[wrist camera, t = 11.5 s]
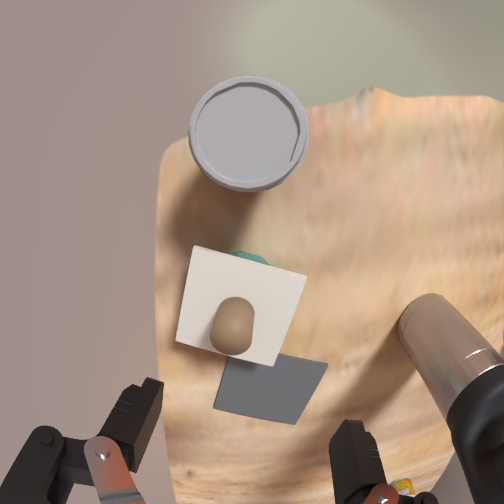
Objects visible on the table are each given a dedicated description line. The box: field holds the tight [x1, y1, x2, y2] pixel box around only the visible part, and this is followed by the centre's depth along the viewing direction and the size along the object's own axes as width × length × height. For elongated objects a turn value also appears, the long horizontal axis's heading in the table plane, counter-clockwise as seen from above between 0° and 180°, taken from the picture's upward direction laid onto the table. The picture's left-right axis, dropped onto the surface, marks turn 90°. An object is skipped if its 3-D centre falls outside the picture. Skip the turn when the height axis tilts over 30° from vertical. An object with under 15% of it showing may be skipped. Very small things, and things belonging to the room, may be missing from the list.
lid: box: [175, 245, 307, 367], centre depth 30 cm, size 12×12×6 cm
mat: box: [214, 354, 328, 425], centre depth 43 cm, size 14×14×1 cm
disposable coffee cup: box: [188, 76, 310, 193], centre depth 27 cm, size 10×10×12 cm
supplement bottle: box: [391, 477, 415, 497], centre depth 48 cm, size 5×5×10 cm
